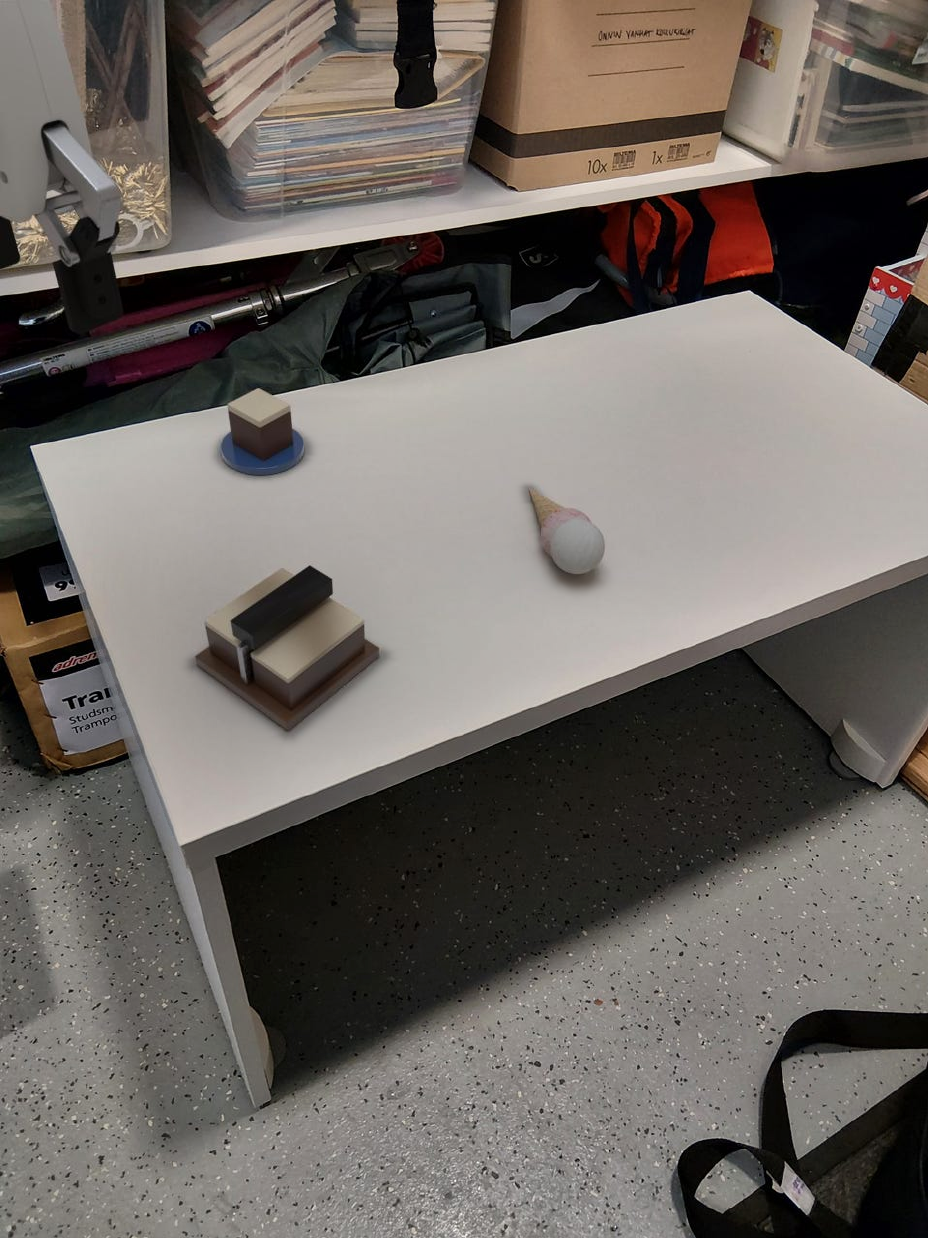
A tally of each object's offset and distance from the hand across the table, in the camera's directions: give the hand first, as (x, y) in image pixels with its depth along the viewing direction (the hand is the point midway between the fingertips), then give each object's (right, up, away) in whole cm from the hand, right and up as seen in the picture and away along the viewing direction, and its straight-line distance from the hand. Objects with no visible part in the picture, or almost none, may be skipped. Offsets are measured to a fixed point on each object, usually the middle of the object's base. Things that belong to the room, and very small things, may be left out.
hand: (44, 295), depth 54 cm
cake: (+11, -22, +19) cm, 31 cm away
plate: (+4, -2, +38) cm, 39 cm away
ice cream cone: (+32, -12, +32) cm, 47 cm away
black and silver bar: (+11, -21, +18) cm, 30 cm away
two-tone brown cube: (+5, -1, +38) cm, 38 cm away
